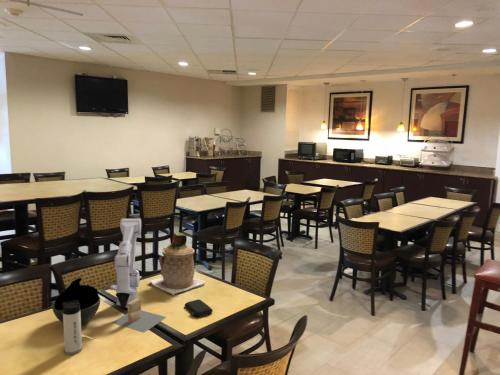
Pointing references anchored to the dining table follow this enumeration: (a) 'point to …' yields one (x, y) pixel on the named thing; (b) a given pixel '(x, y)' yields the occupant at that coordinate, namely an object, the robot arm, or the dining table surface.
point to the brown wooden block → (134, 310)
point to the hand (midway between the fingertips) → (123, 306)
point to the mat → (140, 321)
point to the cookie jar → (177, 267)
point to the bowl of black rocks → (78, 300)
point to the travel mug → (72, 327)
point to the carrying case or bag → (198, 308)
